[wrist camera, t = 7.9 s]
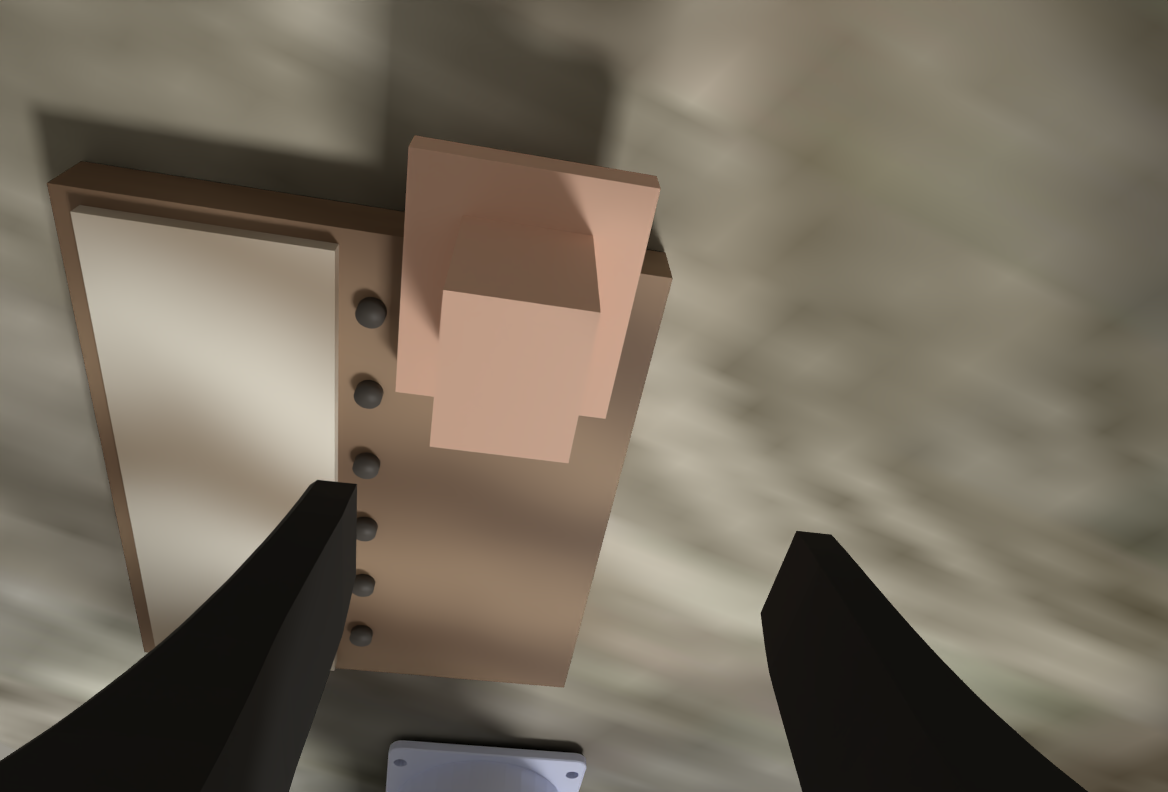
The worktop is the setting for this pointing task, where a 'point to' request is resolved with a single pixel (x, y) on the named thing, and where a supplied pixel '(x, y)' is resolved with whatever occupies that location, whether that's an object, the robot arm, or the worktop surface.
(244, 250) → the board
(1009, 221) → the worktop surface
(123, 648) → the worktop surface
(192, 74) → the worktop surface
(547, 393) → the peach plate with block
